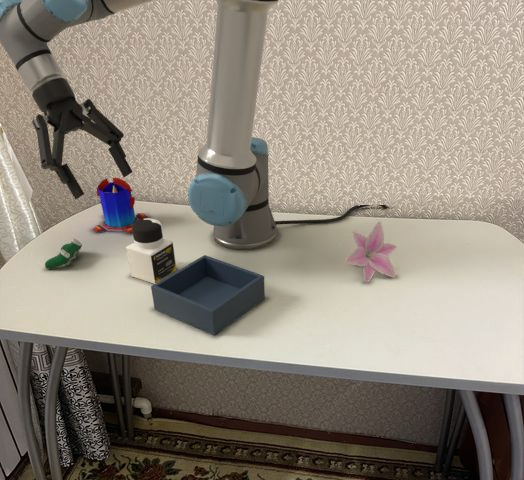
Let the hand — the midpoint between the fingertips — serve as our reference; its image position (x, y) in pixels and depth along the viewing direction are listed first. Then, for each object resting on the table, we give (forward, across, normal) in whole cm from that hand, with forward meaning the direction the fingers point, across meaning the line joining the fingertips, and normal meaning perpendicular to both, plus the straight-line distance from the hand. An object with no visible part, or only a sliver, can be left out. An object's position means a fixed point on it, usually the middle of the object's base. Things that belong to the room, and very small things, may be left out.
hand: (105, 185), depth 117 cm
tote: (+30, +4, +16) cm, 34 cm away
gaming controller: (+10, +7, -18) cm, 21 cm away
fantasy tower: (+8, -14, -22) cm, 27 cm away
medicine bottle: (+21, +1, 0) cm, 21 cm away
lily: (+41, -24, +34) cm, 59 cm away
